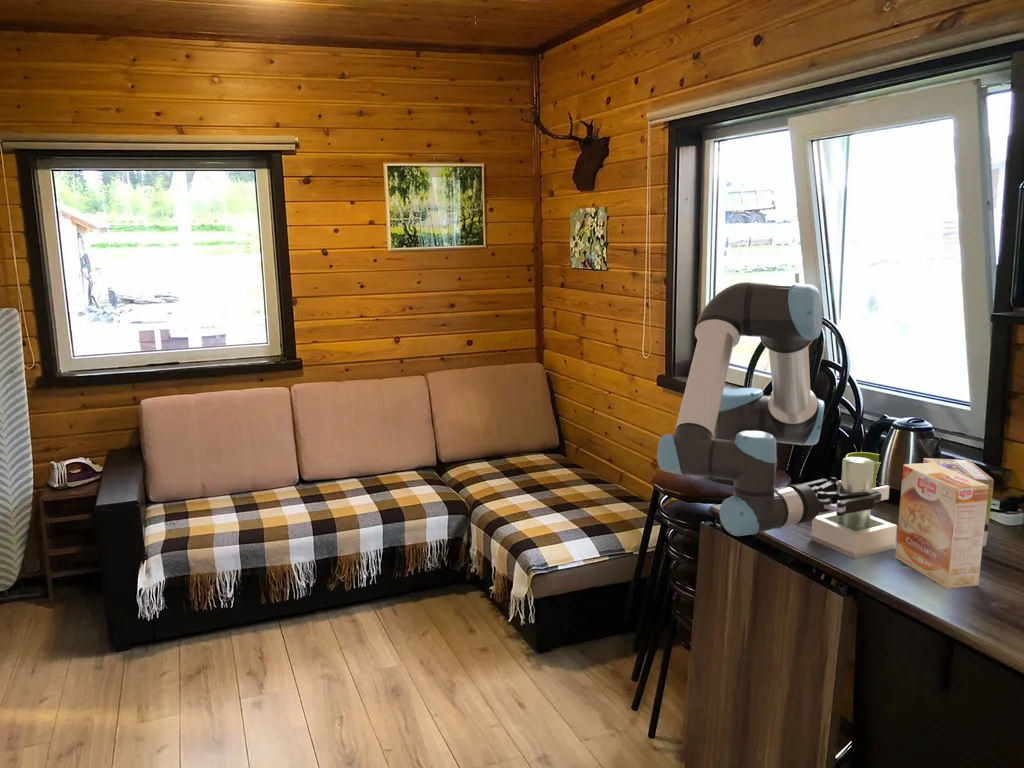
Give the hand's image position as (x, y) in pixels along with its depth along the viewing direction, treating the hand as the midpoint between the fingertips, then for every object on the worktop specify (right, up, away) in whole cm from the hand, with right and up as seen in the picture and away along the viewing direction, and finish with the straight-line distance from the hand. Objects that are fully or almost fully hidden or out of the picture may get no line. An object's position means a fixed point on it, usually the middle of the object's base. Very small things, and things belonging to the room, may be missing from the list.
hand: (873, 487), depth 172 cm
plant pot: (+12, -5, +33) cm, 36 cm away
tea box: (+19, -11, +6) cm, 22 cm away
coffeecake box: (+6, -15, -14) cm, 21 cm away
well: (-4, -12, 0) cm, 13 cm away
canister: (-4, -10, 0) cm, 11 cm away
